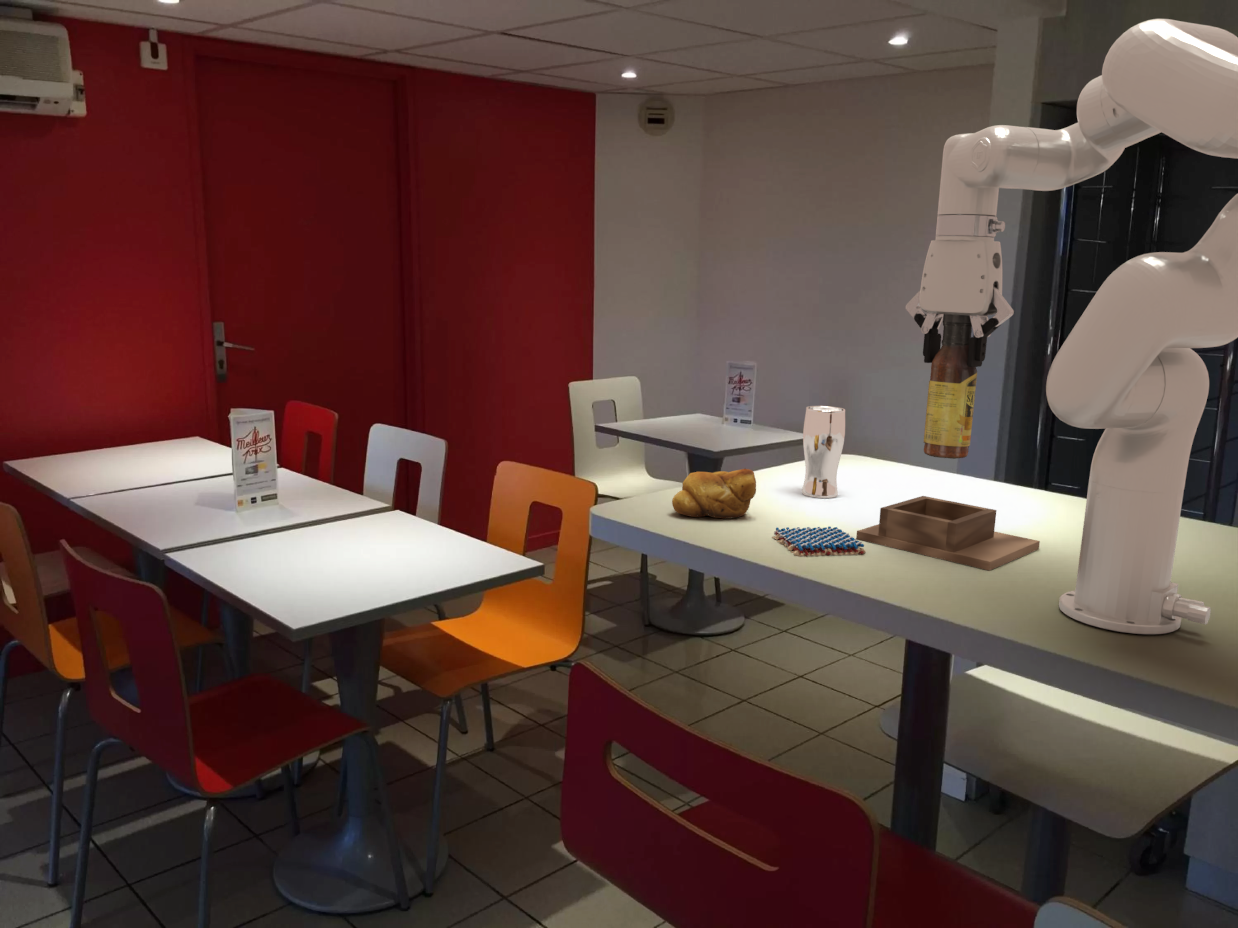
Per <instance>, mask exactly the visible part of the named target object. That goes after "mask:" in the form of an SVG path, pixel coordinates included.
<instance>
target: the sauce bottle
mask: <svg viewBox="0 0 1238 928" xmlns="http://www.w3.org/2000/svg"><path fill="white" fill-rule="evenodd" d="M942 326H943V330H942V339H941V346H940V350H939V352H938V353H937V354H936V355H935V357H934V359H933V361H932V363H930V364H931V365H930V380H929V381H928V391H927V400H926V412H925V413H926V414H925V423H924V435H923V443H924V446H923V452H924V454H925V455H927V456H929V457H933V458H941V459H951V460H954V459H964V458H967V457H968V456H969V455H968V454H969V447H970V446H971V438H972V436H971V435H972V430H973V429H972V428H973V421H974V419H973V417H974V412H975V411H974V410H975V399H976V388H977V381H978V380H977V377H978V371H977V367H968V366H967V360H968V349H969V340H970V338H971V337H972V333H973V331H972V330H973V328H972V323H971V319H970V315H952V314H944V315H943V320H942Z"/></svg>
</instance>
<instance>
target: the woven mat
mask: <svg viewBox="0 0 1238 928" xmlns="http://www.w3.org/2000/svg"><path fill="white" fill-rule="evenodd" d="M773 535H774V536H772V537H771V538H772V539H775V540H776V542H777V543H779V544H780V545H783V546H784V547H786V548H787V549H788V550H789V551H790V553H791V554H793V555H794V556H797V557H807V556H809V557H812V556H813V557H814V556H842V555H843V556H847V555H848V556H849V555H850V556H851V555H864V554H865V553H866V552H867V551H866V550H865V549H864V547H865V544H864V543H863V542H862V541H859V540H858V539H856V538H855V537H854V536H851V535H850V534H849V532H848V533H847V532H845V531H844V530H842V529H841V528H838V526H836V527H833V528H832V527H831V526H827V527H820V526H817V527H813V528H811V527H810V526H807V527H803V528H800V527H793V528H790V527H786V528H785V527H784V528H780V529H779V527H776V528H775V531H774V532H773Z"/></svg>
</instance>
